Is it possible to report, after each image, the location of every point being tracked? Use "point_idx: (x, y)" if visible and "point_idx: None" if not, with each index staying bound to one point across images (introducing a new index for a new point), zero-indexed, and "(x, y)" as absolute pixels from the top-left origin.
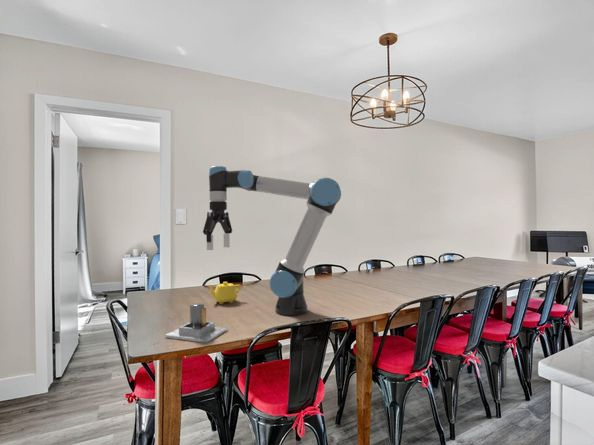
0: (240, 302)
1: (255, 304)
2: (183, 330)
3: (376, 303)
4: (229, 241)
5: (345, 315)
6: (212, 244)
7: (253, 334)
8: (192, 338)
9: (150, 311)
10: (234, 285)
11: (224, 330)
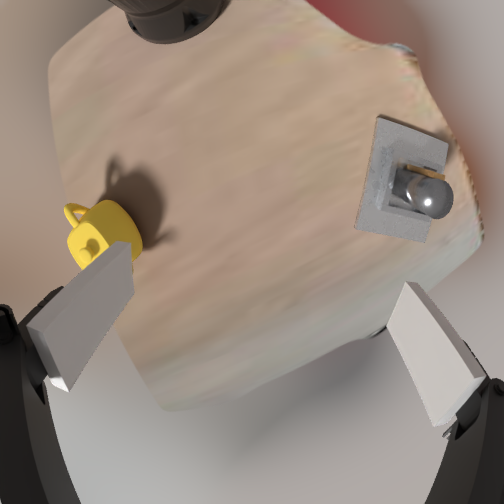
0: (108, 185)
1: (118, 130)
2: None
3: None
4: (86, 267)
5: None
6: (435, 309)
7: (389, 53)
8: None
9: (248, 362)
10: (76, 224)
11: (390, 121)
